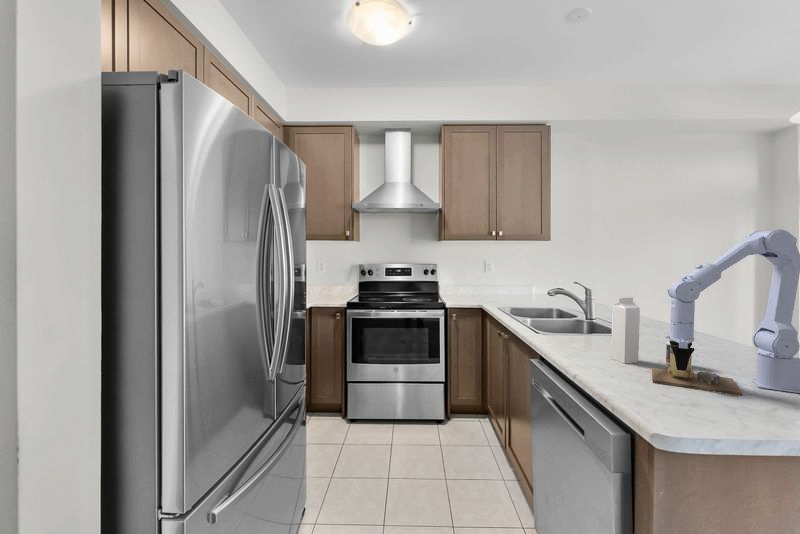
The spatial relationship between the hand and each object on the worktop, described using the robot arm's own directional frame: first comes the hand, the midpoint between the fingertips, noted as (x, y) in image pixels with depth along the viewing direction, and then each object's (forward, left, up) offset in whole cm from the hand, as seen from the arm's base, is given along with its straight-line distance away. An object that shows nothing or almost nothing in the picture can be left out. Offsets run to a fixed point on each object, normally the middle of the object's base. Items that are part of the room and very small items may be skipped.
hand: (680, 367), depth 119 cm
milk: (+15, -15, -4) cm, 22 cm away
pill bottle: (0, -18, -4) cm, 18 cm away
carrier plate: (-3, 0, -4) cm, 5 cm away
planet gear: (0, 0, -2) cm, 2 cm away
